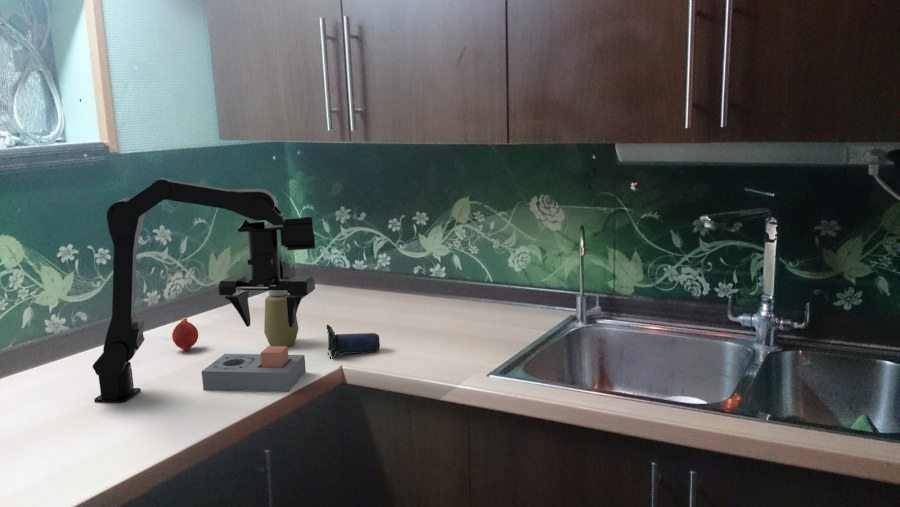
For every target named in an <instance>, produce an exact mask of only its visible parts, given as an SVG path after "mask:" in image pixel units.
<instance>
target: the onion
mask: <svg viewBox="0 0 900 507" xmlns="http://www.w3.org/2000/svg"><path fill="white" fill-rule="evenodd" d="M171 338H172V342H173V344H174V345H175V346H176V347H178V348H179V349H180V350H183V351H190V349H191V348H192V347H193V346H194V345H195V344H196V343H197V341H198V339H199V331H198V328H197V327H196V326H195V325H194V324H193V323H191V322H189V321H188V318H187V317H183V318H182V319H181V321H180V322H179V323H177V325H176V326H175V327H174V328H173V331H172V337H171Z"/></svg>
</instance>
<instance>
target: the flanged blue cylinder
mask: <svg viewBox="0 0 900 507" xmlns="http://www.w3.org/2000/svg"><path fill="white" fill-rule="evenodd" d="M326 330H327V338H328V339H327V342H328V343H327V344H328V345H327V346H328V347H327V351H331V352H330V354H329V352H327V356H328V355H329V356H328V359H329V358H330V359H332V360H334V359H335V357H336V353H338V354H339V355H340V354H360V353H361V354H362V352H366V353H376V352H377V351H379V350H380V348H381V343H380V335H379V334H378V333H376V332H367V333H366V332H364V333H363V332H361V333H338V334H336V332H335V331H334V330H333V327H332V326H331V325H329V324H326ZM375 351H376V352H375ZM330 355H331V356H330ZM331 357H332V358H331ZM330 359H329V360H330Z"/></svg>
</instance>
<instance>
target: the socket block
mask: <svg viewBox="0 0 900 507" xmlns="http://www.w3.org/2000/svg"><path fill="white" fill-rule="evenodd" d="M305 357H306V356H305V354H288V360H289V363H288V364H287V365H286V366H285V367H284V368H262V364H261V353H260V354H259V353H258V354H257V353H224V354H222V355H221V356H219V358H217V359H216V360H215V361H213V362H212V363H211V364H209V365H208V366H207V367H205V368H204V369H203V370H201V379H202V390H203V391H230V392H231V391H232V392H233V391H235V392H240V391H241V392H242V391H243V392H246V391H247V392H277V393H278V392H281V393H282V392H284V393H287V392H290V390H291V389H292V388H293V387H294V386H295V385H296V384H297V383H298V382H299V381H300V380H301V378H302V377H303V376H304V375H305V374H307V373H306V372H307V367H306V358H305Z"/></svg>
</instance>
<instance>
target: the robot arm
mask: <svg viewBox="0 0 900 507" xmlns="http://www.w3.org/2000/svg"><path fill="white" fill-rule="evenodd" d="M164 200H167V201H174V202H180V203H186V204H192V205H198V206H206V207H211V208H216V209H217V208H218V209H224V210H227V211H230V212H232V213H235V214H238V215H240V216H242V217H245V218H244V220H243V222H242V223H241V224H240V225H239V226H238V228H237V232H239V233H247V236H248V237H247V240H248V250H249V258H248V259H247V265H249V266H250V275H251V277H250V279H249V280H248V279H247V278H246V275H243V276H242V275H240V276H239V275H237V276H236V275H231V276H230V275H229V276H227V277H226V278H224V279H222V280H220V281H219V282H218V284H217V294H218V295H219V296H224V299H225V300H229V302H230V303H231V305H233V307H234V308H235V310H236V311H237V313H238V314H239V316H240V318H241V320H242V321H243V323H244V325H245V326H246V327H247V328H249V327H250V326H251V313H250V306H249V295H250V294H249V293H250V291H268V290H287V292H288V294H290V295H289V296H288V297H287V298H286V299H287V312H288V323H289V327H292V326H293V324H294V320H295V317H297V313H298V309H299V306H300V304H301V302H302V299H304V298H305V297H306V296H308V295H310V294H311V293H312V292H314V291H315V289H316V281H315V279H314V278H313V277H312V276H300V275H299V276H296V275H295V276H294V277H292V278H291V279H290V276H291V274H290V273H291V264H290V263H288V262H286V261H283V260H282V258H283V257H282V254H281V253H280V252H279V241H278V240H279V237H278V230H279V231H280V244H281V247H283V248H286V250H287V251H302V250H315V249H316V241H315V240H316V239H315V230H314V226H313V216H312V215H304V216H299V217H298V216H297V217H296V216H295V217H286V216H285V215H284V212H282V211H281V210H280V209H279V208H278V206H277V205H276V199H275V196H274V195H273V194H272V193H271V191H268V190H267V189H264V188H238V189H227V188H221V187H218V186H217V187H215V186H210V185H203V184H198V183H192V182H191V183H190V182H185V181H179V180H175V179H171V178H167V177H161V178H158V179H156V180H154V181H153V182H152V183H151V185H149V186H148V187H146V188H144V189H143V190H142V191H140V192H138V193H137V194H135V195H134V196H133V197H124V198H122V199H120V200H118V201H116V202H113V203H112V204H111V205H110V206H109V207H108V209H107V211H106V221H107V228H108V233H109V236H110V239H111V242H112V246H113V263H112V264H113V266H112V268H113V269H112V270H113V271H112V298H111V299H112V303H111V305H112V306H111V308H112V310H111V318H110V322H109V325H108V328H107V331H106V335H105V340H104V344H103V348H102V351H103V352H102V353H101V354H100V356H99V357H98V358H96V361H94V363H93V364H92V367H91V368H92V369H93V370H94V372H95V374H96V375H97V376H98V384H99V391H100V394H99V395H98V396H97V397H95V398H94V402H102V403H105V402H106V403H125V402H126V401H128V400H129V399H131V398H132V397H133V396H135V395H136V394H138V393H139V392H141V391H142V390H141V388H140V387H134V378H133V370H132V366H131V362H130V360H132V358H133V357H134V356H135V355H136V353H137V351H138V350H139V349H140V348H141V346H142V345H143V343H144V342H145V340H146V338H145V337H144V327H145V324H146V322H145V321H138V319H137V316H136V287H137V286H136V285H137V283H136V282H137V281H136V280H137V258H138V257H137V256H138V255H137V253H138V252H137V251H138V249H137V248H138V242H139V240H140V236H141V235H142V234H141V233H142V230H143V226H144V220H145V216H146V213H147V212H148V211H150V210H151V209H153V208H154V207H156V206H157V205H158V204H160V203H161V202H163V201H164ZM248 218H249V219H251V220H254V221H250V220H249V219H248ZM266 222H267V223H269V224H270V225H268V224H267V225H266ZM271 224H272V225H271ZM281 279H282V281H281ZM274 285H276V286H274Z"/></svg>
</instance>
